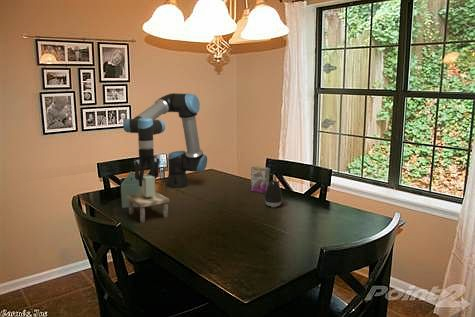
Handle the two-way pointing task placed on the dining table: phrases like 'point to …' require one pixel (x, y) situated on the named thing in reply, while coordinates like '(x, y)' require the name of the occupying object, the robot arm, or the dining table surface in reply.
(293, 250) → the dining table surface
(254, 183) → the candy bar box
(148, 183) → the sage block
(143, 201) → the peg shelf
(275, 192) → the dark grey cone
